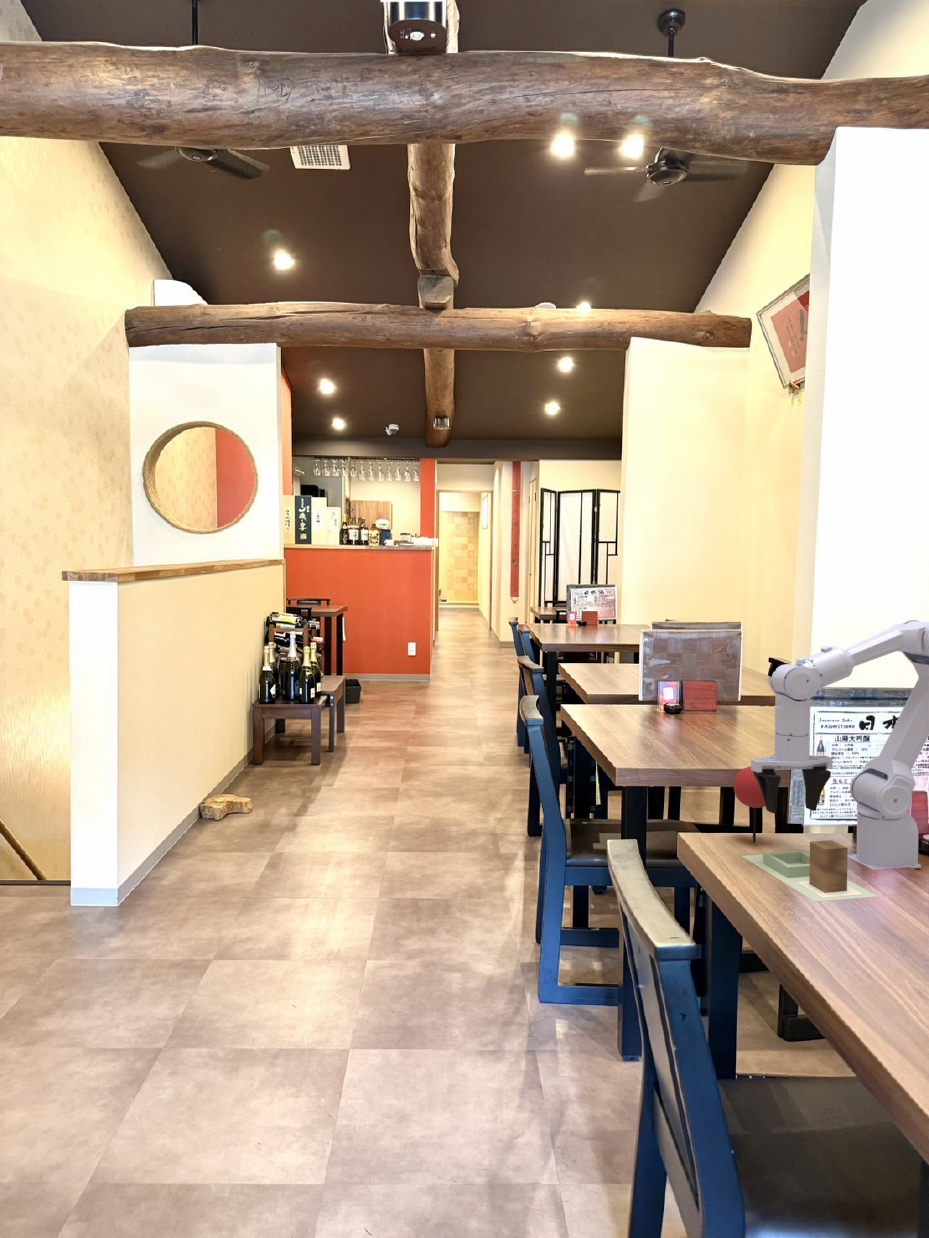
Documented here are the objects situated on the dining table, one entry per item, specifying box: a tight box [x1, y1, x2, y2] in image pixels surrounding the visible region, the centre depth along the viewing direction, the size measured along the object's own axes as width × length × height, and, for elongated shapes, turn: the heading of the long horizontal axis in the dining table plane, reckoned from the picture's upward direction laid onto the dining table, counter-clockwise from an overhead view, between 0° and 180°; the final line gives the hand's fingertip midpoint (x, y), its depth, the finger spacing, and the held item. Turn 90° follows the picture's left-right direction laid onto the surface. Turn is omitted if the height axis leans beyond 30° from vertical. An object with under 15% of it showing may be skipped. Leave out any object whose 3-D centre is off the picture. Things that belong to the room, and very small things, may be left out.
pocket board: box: [741, 849, 879, 903], centre depth 142 cm, size 11×22×2 cm, turn 11°
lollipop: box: [733, 766, 766, 844], centre depth 159 cm, size 8×8×15 cm
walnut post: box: [809, 839, 849, 893], centre depth 136 cm, size 4×4×7 cm
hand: (791, 810), depth 147 cm, fingers open, 7 cm apart
